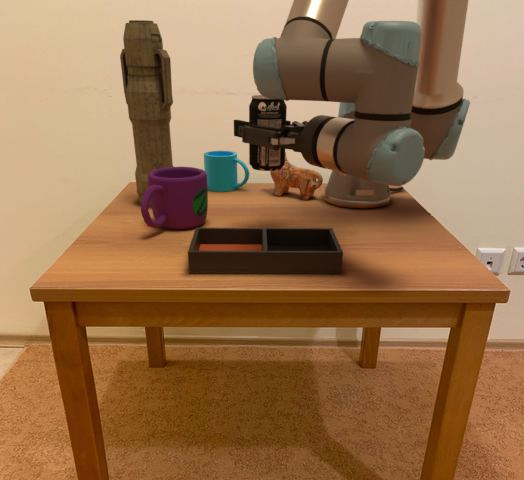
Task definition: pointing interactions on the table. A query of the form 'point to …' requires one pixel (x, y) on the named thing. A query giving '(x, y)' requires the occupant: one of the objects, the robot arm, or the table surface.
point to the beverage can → (270, 116)
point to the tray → (265, 251)
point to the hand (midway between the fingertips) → (252, 126)
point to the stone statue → (147, 98)
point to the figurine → (296, 180)
